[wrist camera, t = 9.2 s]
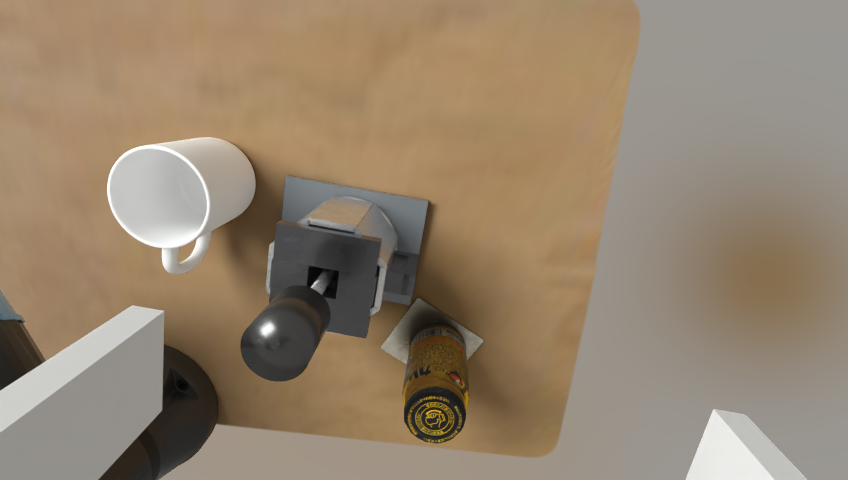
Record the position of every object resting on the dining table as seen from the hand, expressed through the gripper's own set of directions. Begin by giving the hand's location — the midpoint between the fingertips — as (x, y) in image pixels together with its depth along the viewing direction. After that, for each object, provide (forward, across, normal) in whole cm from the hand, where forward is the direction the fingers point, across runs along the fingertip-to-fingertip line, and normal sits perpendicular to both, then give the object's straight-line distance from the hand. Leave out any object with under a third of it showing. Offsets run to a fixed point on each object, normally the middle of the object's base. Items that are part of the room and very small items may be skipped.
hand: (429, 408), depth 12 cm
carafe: (+36, -7, -8) cm, 37 cm away
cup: (+37, -22, -6) cm, 43 cm away
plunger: (+33, -8, -8) cm, 35 cm away
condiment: (+37, +2, -18) cm, 41 cm away
